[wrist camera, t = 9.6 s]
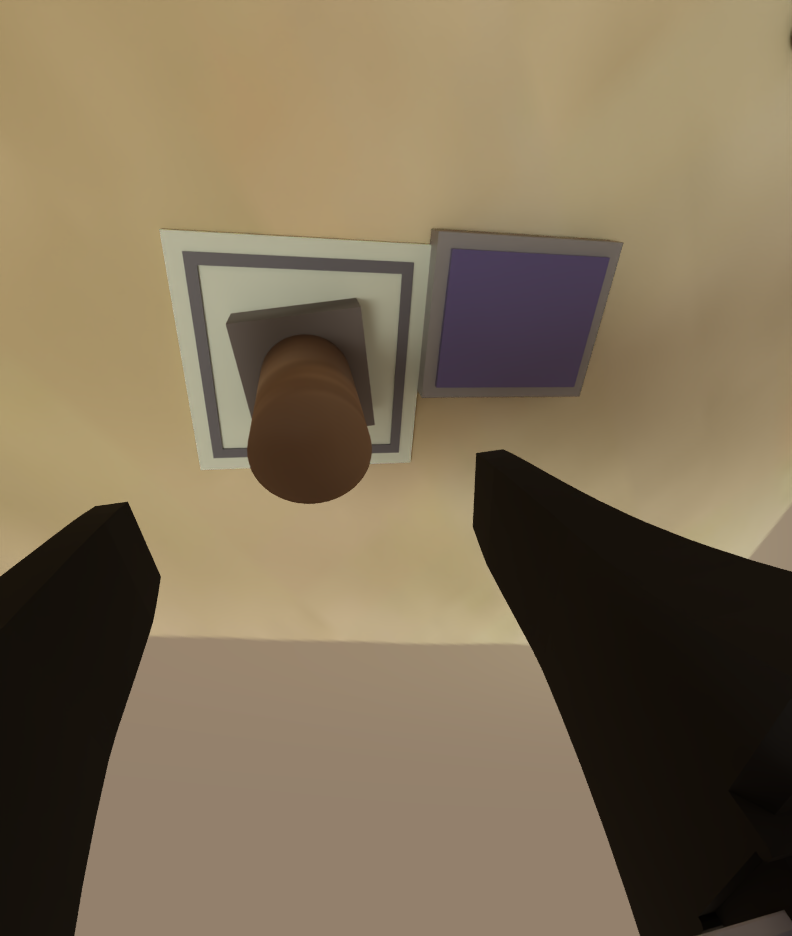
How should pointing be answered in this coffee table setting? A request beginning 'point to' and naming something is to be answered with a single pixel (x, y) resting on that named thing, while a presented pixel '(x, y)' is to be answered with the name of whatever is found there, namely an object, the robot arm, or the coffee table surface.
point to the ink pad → (512, 313)
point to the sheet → (287, 284)
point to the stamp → (305, 397)
